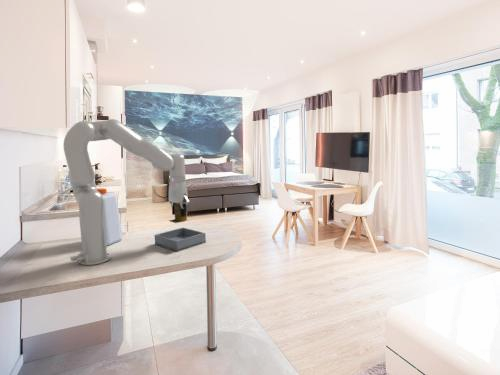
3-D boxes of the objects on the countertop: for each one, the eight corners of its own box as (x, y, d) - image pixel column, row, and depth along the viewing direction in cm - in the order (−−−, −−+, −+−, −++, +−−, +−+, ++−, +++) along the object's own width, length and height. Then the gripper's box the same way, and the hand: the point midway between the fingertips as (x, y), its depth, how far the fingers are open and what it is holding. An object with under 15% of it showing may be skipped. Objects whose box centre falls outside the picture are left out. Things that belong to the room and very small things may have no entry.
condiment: (190, 220, 160) (189, 197, 158) (175, 223, 154) (174, 199, 153) (182, 218, 165) (181, 195, 164) (168, 221, 159) (166, 197, 158)
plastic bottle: (81, 245, 160) (76, 190, 157) (103, 236, 175) (99, 186, 171) (104, 247, 156) (100, 191, 152) (125, 239, 170) (122, 187, 166)
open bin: (177, 251, 149) (176, 241, 148) (155, 244, 160) (154, 234, 159) (205, 242, 162) (205, 232, 162) (183, 236, 174) (182, 227, 173)
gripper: (161, 179, 159) (162, 214, 162) (182, 181, 148) (184, 219, 151) (173, 178, 165) (174, 211, 167) (195, 180, 154) (196, 216, 157)
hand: (179, 214), depth 159 cm, fingers closed on condiment, 6 cm apart
